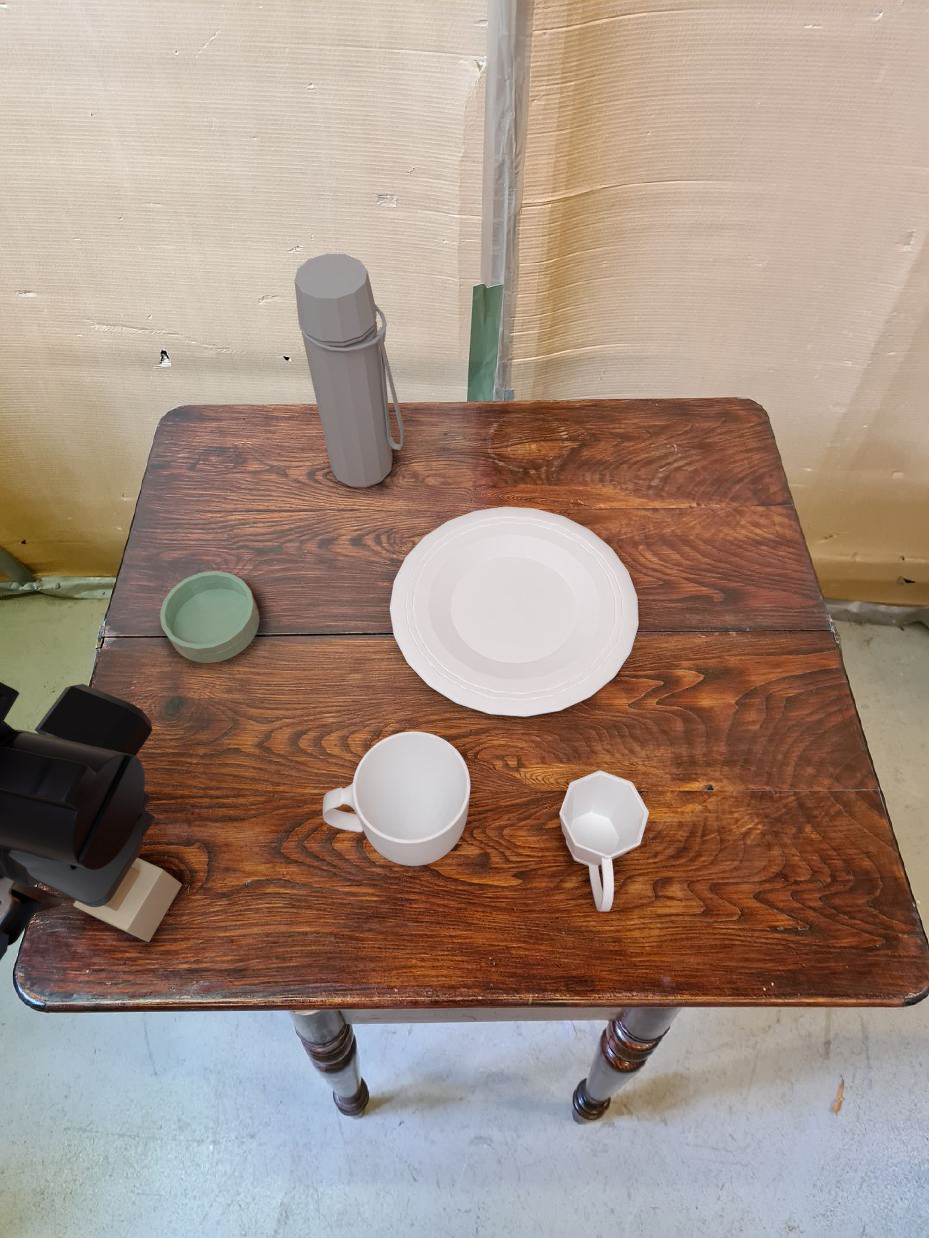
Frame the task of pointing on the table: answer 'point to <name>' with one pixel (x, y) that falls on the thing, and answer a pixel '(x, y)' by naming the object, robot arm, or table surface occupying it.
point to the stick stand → (140, 902)
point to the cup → (602, 826)
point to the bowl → (210, 616)
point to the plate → (514, 611)
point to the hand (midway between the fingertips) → (80, 863)
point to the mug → (406, 798)
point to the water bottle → (347, 367)
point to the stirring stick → (123, 889)
